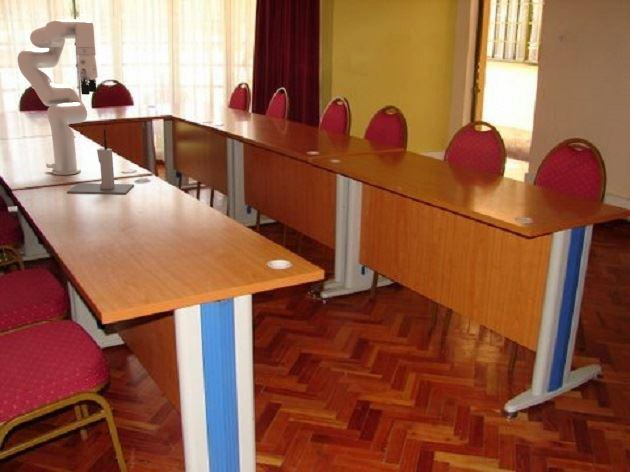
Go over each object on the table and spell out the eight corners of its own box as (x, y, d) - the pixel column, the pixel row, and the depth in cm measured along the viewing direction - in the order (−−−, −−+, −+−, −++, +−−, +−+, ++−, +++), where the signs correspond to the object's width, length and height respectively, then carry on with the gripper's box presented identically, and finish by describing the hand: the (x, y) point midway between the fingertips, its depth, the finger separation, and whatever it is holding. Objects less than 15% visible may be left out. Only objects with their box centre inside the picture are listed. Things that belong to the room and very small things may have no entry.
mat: (67, 193, 277) (67, 191, 277) (78, 184, 290) (78, 183, 290) (125, 194, 277) (125, 192, 277) (133, 186, 291) (133, 184, 290)
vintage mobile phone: (103, 187, 285) (98, 128, 277) (114, 187, 284) (110, 128, 277) (99, 189, 281) (95, 129, 273) (111, 189, 281) (107, 130, 273)
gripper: (88, 53, 273) (91, 95, 279) (101, 50, 290) (104, 91, 295) (70, 52, 273) (73, 95, 279) (83, 50, 290) (86, 90, 295)
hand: (89, 93), depth 287 cm, fingers open, 9 cm apart
